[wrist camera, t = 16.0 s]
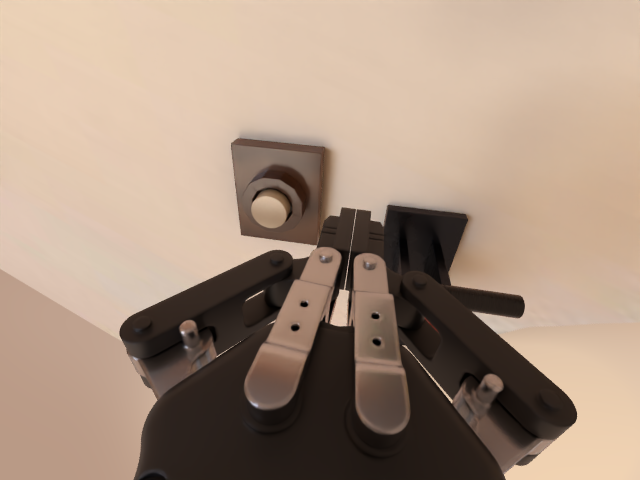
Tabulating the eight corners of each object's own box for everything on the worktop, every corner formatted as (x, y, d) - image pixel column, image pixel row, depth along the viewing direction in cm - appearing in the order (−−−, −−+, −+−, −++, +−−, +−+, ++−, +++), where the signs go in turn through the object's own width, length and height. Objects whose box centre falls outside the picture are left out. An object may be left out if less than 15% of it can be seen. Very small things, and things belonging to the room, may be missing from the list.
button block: (237, 138, 36) (222, 149, 33) (324, 147, 35) (318, 160, 32) (246, 227, 43) (235, 244, 40) (319, 236, 42) (314, 255, 39)
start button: (254, 187, 35) (249, 194, 34) (290, 191, 35) (286, 198, 33) (257, 218, 37) (252, 225, 36) (290, 222, 37) (286, 230, 35)
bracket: (387, 204, 38) (389, 279, 27) (466, 214, 37) (500, 295, 26) (372, 280, 45) (369, 363, 34) (438, 289, 44) (457, 378, 33)
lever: (426, 272, 21) (424, 309, 20) (524, 286, 20) (526, 325, 19) (392, 304, 33) (390, 327, 32) (451, 313, 33) (450, 337, 32)
